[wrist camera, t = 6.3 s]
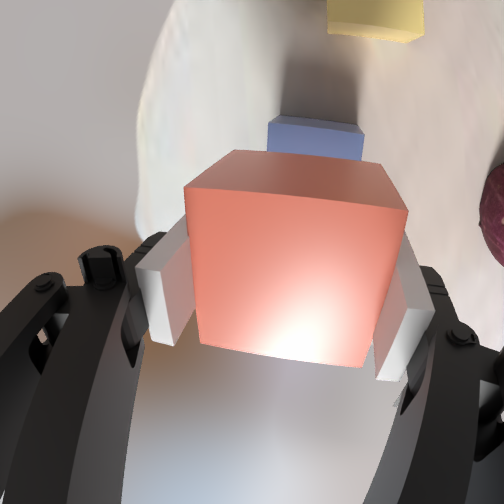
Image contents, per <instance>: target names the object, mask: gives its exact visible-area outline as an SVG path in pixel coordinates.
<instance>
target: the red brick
mask: <svg viewBox="0 0 504 504" xmlns="http://www.w3.org/2000/svg"><path fill="white" fill-rule="evenodd" d="M184 199H185V212H186V223H187V234H188V236H189V239H190V252H191V264H192V275H193V285H194V295H195V305H196V314H197V322H198V329H199V336H200V343H202V344H207V345H212V346H216V347H222V348H227V349H232V350H237V351H243V352H248V353H254V354H260V355H266V356H272V357H278V358H285V359H292V360H299V361H306V362H314V363H321V364H330V365H339V366H348V367H358V368H361V367H362V366H363V363H364V360H365V358H366V355H367V352H368V349H369V347H370V344H371V342H372V339H373V333H374V330H375V327H376V325H377V322H378V319H379V316H380V313H381V310H382V307H383V305H384V302H385V298H386V295H387V292H388V289H389V286H390V283H391V280H392V276H393V273H394V269H395V265H396V262H397V258H398V254H399V250H400V246H401V242H402V238H403V234H404V229H405V225H406V221H407V216H408V209H407V207H406V205H405V204H404V202H403V200H402V198H401V197H400V195H399V193H398V191H397V190H396V188H395V186H394V185H393V183H392V181H391V180H390V178H389V177H388V175H387V173H386V172H385V170H384V168H383V167H382V165H381V164H377V163H371V162H364V161H356V160H349V159H341V158H333V157H324V156H314V155H304V154H293V153H281V152H267V151H251V150H233V151H231V152H230V153H229V154H227V155H226V156H224V157H223V158H222V159H220V160H219V161H218V162H216V163H215V164H213V165H212V166H211V167H209V168H208V169H207V170H205V171H204V172H203V173H201V174H200V175H199V176H197V177H196V178H195V179H194V180H192V181H191V182H190V183H188V184H187V185H186V186H184Z"/></svg>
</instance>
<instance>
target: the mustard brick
mask: <svg viewBox="0 0 504 504" xmlns="http://www.w3.org/2000/svg"><path fill="white" fill-rule="evenodd" d="M327 26H328V34H341V35H352V36H361V37H369V38H377V39H384V40H390V41H396V42H402V43H408V42H410V41H412V40H414V39H417V38H419V37H421V36H423V35H424V12H423V0H327Z"/></svg>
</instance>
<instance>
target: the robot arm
mask: <svg viewBox="0 0 504 504" xmlns="http://www.w3.org/2000/svg"><path fill="white" fill-rule="evenodd" d="M78 261H79V265H80V269H81V272H82V275H83V279H84V282H85V284H84V285H83V286H66V285H65V282H64V279H63V277H62V275H61V274H59V273H56V272H48V273H44V274H41V275H39V276H37V277H36V278H34V279H33V280H32V281H31V282H29V283H28V284H27V285H26V286H25V287H24V288H23V289H22V290H21V291H20V293H19V294H18V295H17V296H16V297H15V298H14V299H13V300H12V301H11V302H10V303H9V304H8V305H7V306H6V307H5V308H4V309H3V310H2V311H1V312H0V499H1V497H2V495H3V492H4V490H5V493H4V497H3V502H2V504H121V496H122V487H123V478H124V469H125V461H126V453H127V446H128V439H129V431H130V425H131V419H132V412H133V407H134V401H135V395H136V390H137V384H138V379H139V373H140V368H141V363H142V358H143V354H144V348H145V347H144V340H143V335H144V334H145V332H146V330H147V329H148V328H149V331H150V334H151V338H152V341H156V342H160V343H164V344H168V345H171V346H174V345H175V343H176V342H177V340H178V338H179V336H180V334H181V333H182V331H183V329H184V327H185V325H186V324H187V322H188V320H189V318H190V316H191V315H192V313H193V311H194V309H195V307H196V305H195V295H194V285H193V275H192V264H191V252H190V239H189V236H188V234H187V223H186V214H185V215H184V216H183V217H182V218H181V219H180V220H179V221H178V222H177V223H176V224H175V225H174V226H173V227H172V228H171V229H170V230H169V231H168V232H158V233H156V234H154V235H152V236H150V237H148V238H147V239H146V240H145V241H144V242H143V243H142V244H141V246H140V247H138V248H137V249H136V250H135V251H134V253H132V254H131V255H130V256H129V257H128V258H127V259H126V260H125V261H123V256H122V252H121V250H120V249H119V248H117V247H115V246H109V245H103V246H97V247H94V248H91V249H88V250H87V251H85V252H83V253H82V254H81V255H80V256H79V257H78ZM41 329H43V331H44V333H45V335H46V337H47V340H46V341H45V342H44V343H41V342H40V340H39V338H38V336H37V334H38V333H39V331H40V330H41ZM373 343H374V357H375V375H376V380H385V381H400V380H401V378H402V376H403V375H404V373H405V371H406V369H407V375H408V382H407V384H406V386H405V387H404V389H403V391H402V393H401V394H400V395H399V397H398V399H397V400H396V402H395V404H394V407H397V405H398V404H399V405H398V409H397V412H396V415H395V419H394V422H393V425H392V429H391V432H390V435H389V438H388V441H387V444H386V446H385V450H384V452H383V455H382V458H381V460H380V463H379V466H378V469H377V471H376V474H375V476H374V478H373V481H372V484H371V486H370V488H369V491H368V493H367V495H366V497H365V500H364V502H363V504H504V422H503V421H502V419H501V413H502V412H503V411H504V347H503V348H502V350H501V351H500V352H498V351H495V350H492V349H489V348H486V347H484V346H481V345H480V343H479V339H478V336H477V335H476V333H475V332H474V330H473V329H471V328H470V327H469V326H468V325H466V324H464V323H462V322H460V321H459V319H458V317H457V314H456V312H455V309H454V307H453V304H452V302H451V299H450V297H449V296H448V292H447V289H446V288H445V285H444V282H443V280H442V278H441V276H440V275H439V274H438V273H437V272H436V271H435V270H434V269H433V268H432V267H427V266H420V265H419V264H418V262H417V259H416V257H415V254H414V252H413V249H412V247H411V244H410V242H409V240H408V237H407V235H406V233H405V230H404V234H403V238H402V242H401V246H400V250H399V254H398V258H397V262H396V265H395V269H394V273H393V276H392V280H391V283H390V286H389V289H388V292H387V295H386V298H385V302H384V305H383V307H382V310H381V313H380V316H379V319H378V322H377V325H376V327H375V330H374V333H373Z"/></svg>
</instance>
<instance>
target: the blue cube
mask: <svg viewBox="0 0 504 504" xmlns="http://www.w3.org/2000/svg"><path fill="white" fill-rule="evenodd" d="M363 143H364V133H363V132H362V131H361V129H360V128H359V126H358V125H354V124H348V123H341V122H335V121H327V120H320V119H312V118H303V117H293V116H283V115H279V116H278V117H276V118H275V119H273V120H272V121H270V122H269V123H268V140H267V152H281V153H293V154H304V155H314V156H324V157H333V158H341V159H349V160H356V161H361V157H362V150H363Z"/></svg>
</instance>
